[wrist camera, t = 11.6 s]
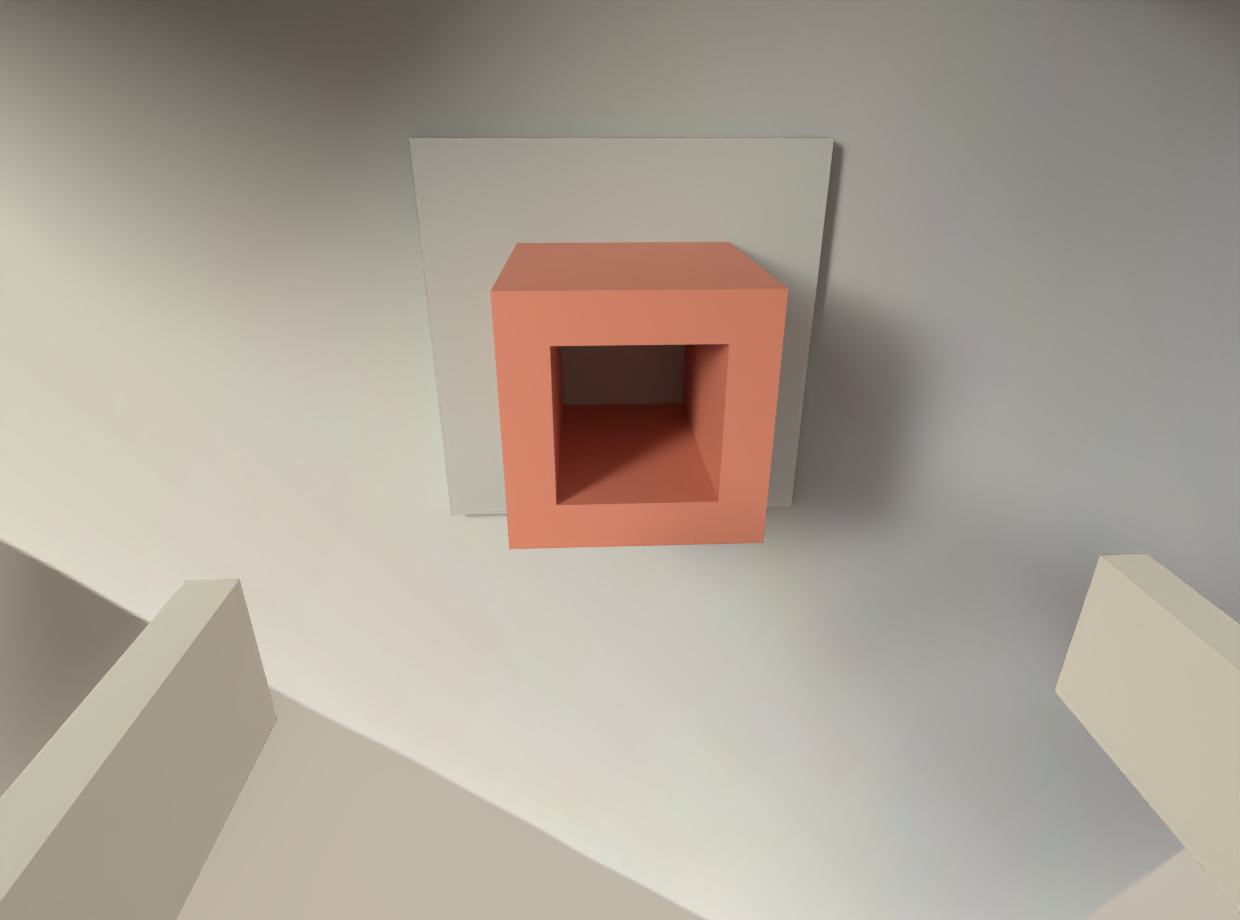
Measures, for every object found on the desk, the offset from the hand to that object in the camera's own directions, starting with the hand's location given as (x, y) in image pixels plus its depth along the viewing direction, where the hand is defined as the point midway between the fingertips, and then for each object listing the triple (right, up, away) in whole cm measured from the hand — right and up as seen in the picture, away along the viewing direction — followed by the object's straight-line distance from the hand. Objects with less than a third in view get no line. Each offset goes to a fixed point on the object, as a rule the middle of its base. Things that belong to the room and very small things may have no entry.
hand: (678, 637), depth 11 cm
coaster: (-1, +7, +16) cm, 18 cm away
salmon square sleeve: (-1, +7, +15) cm, 17 cm away
